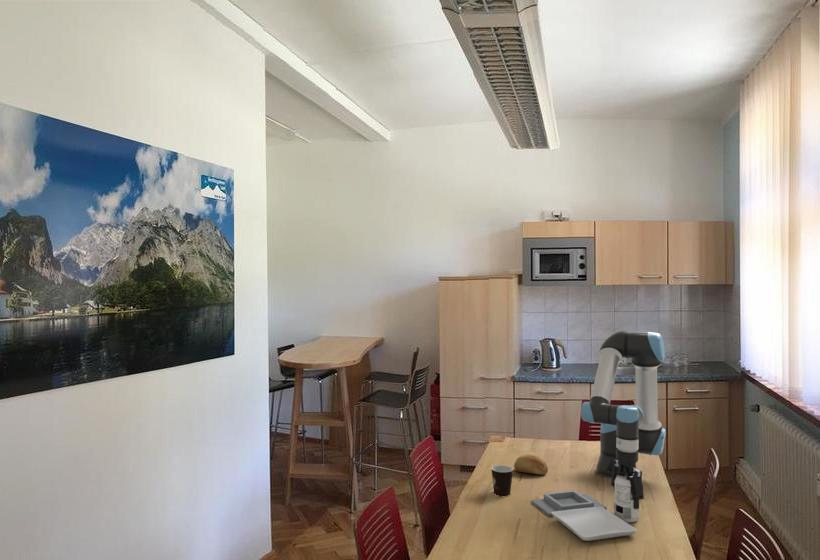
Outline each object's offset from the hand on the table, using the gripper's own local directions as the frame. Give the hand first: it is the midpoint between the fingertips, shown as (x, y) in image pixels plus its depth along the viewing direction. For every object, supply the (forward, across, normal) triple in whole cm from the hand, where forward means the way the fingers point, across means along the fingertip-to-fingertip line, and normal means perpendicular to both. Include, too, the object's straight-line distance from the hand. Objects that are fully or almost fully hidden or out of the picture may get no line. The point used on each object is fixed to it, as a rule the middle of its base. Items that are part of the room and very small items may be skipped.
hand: (626, 512), depth 215 cm
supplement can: (+2, 0, 0) cm, 2 cm away
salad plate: (+3, +4, -17) cm, 17 cm away
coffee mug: (+3, -36, -32) cm, 48 cm away
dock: (+2, -16, -14) cm, 21 cm away
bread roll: (+3, -54, -10) cm, 55 cm away
